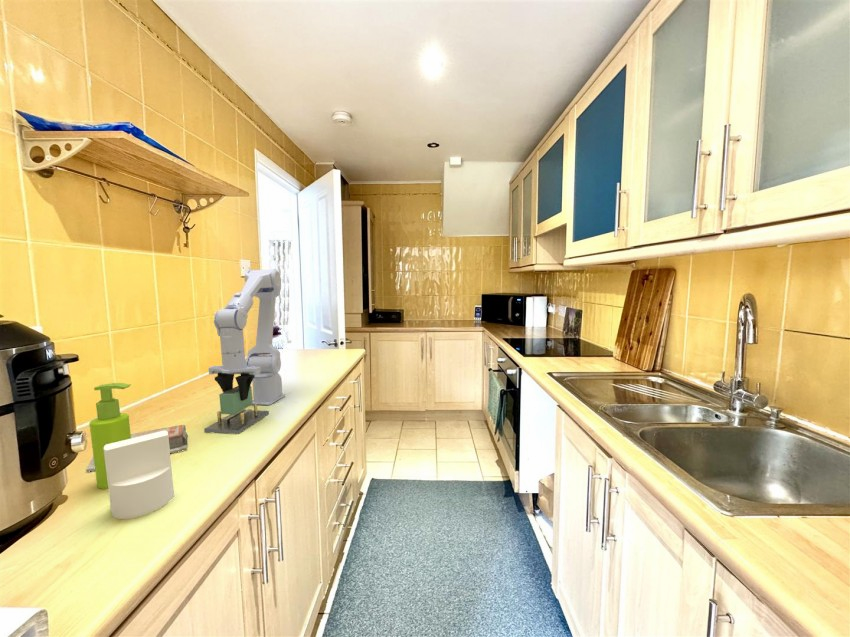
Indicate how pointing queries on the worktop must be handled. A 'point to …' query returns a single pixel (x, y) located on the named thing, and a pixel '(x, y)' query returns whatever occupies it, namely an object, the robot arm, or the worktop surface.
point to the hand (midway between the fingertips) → (236, 399)
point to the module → (234, 401)
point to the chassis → (236, 421)
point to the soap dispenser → (107, 428)
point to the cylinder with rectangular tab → (139, 475)
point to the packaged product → (175, 436)
